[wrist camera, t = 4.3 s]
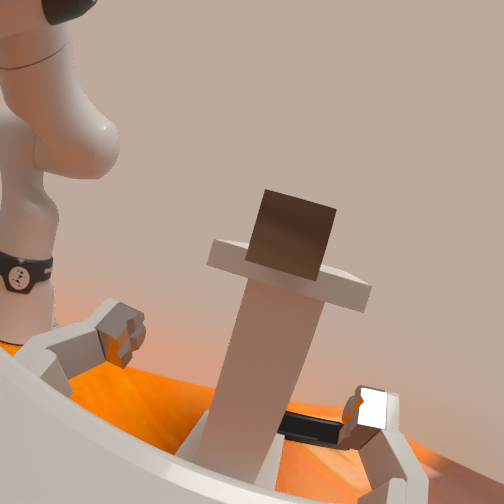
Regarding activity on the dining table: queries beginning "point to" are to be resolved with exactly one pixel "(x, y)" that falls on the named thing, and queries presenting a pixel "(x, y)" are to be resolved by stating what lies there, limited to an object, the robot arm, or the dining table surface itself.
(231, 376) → the pedestal
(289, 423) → the phone
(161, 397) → the dining table surface
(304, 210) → the walnut bar
